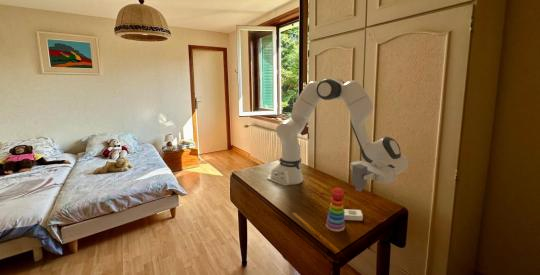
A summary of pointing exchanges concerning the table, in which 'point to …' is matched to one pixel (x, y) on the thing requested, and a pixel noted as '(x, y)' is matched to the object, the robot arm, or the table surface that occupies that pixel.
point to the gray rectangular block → (359, 176)
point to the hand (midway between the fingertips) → (358, 175)
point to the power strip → (353, 214)
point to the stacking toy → (336, 211)
